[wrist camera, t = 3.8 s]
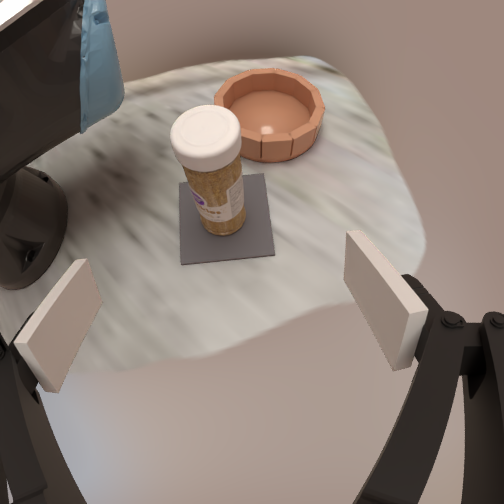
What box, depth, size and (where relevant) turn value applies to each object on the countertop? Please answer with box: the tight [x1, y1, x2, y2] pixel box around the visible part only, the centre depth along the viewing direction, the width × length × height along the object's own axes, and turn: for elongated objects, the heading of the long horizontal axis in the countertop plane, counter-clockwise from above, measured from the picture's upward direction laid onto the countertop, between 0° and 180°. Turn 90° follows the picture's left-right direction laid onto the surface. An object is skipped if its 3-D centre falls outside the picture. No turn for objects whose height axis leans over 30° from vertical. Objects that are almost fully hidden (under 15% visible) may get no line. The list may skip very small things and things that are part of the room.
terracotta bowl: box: [214, 68, 325, 163], centre depth 33 cm, size 12×12×4 cm
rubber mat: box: [179, 173, 275, 265], centre depth 31 cm, size 9×9×1 cm
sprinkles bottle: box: [170, 105, 246, 236], centre depth 25 cm, size 5×5×14 cm
